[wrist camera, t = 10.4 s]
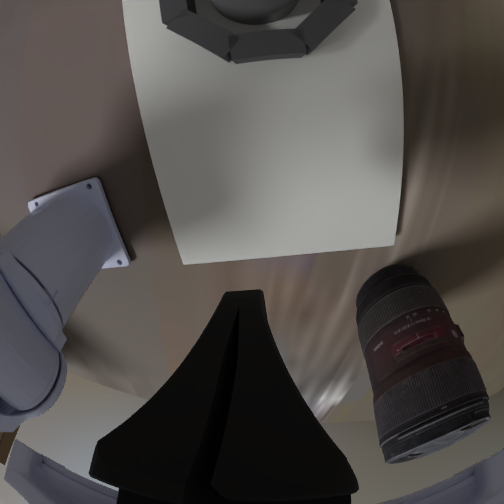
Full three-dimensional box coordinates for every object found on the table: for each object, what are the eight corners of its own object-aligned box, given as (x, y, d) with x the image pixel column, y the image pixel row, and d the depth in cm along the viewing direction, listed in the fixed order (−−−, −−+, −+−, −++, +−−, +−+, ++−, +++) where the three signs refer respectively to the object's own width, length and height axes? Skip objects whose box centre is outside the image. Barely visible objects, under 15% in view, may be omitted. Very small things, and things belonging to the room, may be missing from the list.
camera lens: (383, 243, 20) (465, 423, 7) (439, 273, 21) (508, 409, 9) (330, 311, 24) (357, 473, 12) (390, 328, 25) (426, 458, 13)
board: (186, 257, 21) (176, 283, 18) (125, -35, 8) (104, -48, 5) (389, 238, 19) (404, 262, 17) (362, -62, 6) (377, -80, 3)
